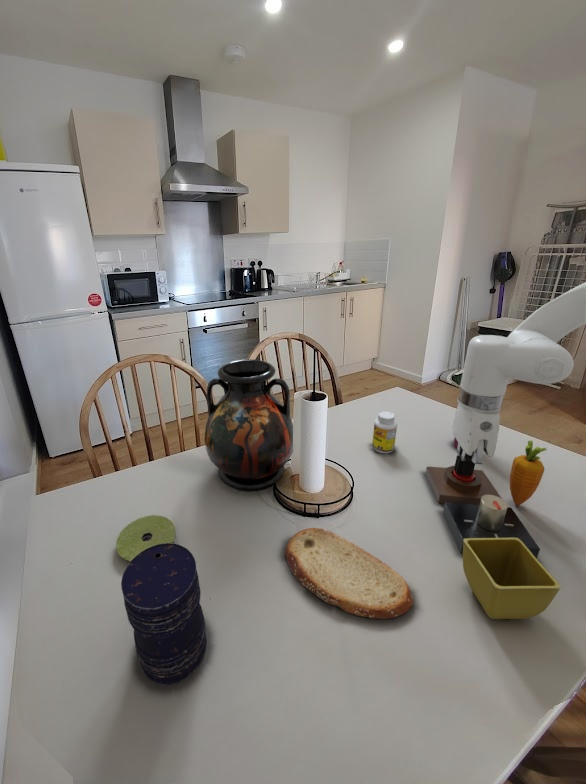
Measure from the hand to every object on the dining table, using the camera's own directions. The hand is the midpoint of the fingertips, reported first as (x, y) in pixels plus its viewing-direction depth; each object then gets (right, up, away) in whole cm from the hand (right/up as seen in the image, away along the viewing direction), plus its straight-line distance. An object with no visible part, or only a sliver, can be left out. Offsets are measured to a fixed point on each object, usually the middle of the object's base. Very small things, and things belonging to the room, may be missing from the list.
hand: (462, 473), depth 78 cm
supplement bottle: (-11, +1, +18) cm, 21 cm away
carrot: (+9, -6, -3) cm, 11 cm away
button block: (0, -4, +2) cm, 5 cm away
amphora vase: (-46, -3, +11) cm, 48 cm away
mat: (-67, -12, -8) cm, 68 cm away
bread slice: (-31, -13, -16) cm, 37 cm away
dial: (-2, -6, -11) cm, 13 cm away
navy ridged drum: (-58, -18, -26) cm, 66 cm away
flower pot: (-9, -14, -22) cm, 28 cm away
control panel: (-2, -9, -10) cm, 14 cm away
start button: (0, -2, +1) cm, 2 cm away
